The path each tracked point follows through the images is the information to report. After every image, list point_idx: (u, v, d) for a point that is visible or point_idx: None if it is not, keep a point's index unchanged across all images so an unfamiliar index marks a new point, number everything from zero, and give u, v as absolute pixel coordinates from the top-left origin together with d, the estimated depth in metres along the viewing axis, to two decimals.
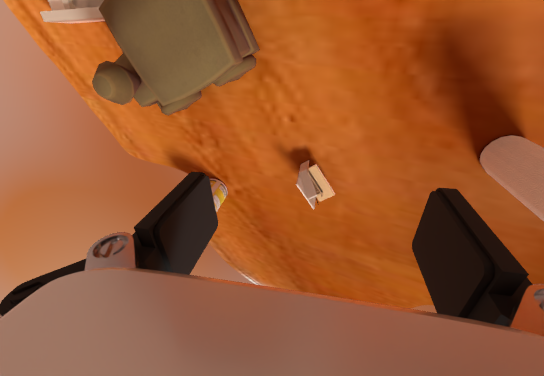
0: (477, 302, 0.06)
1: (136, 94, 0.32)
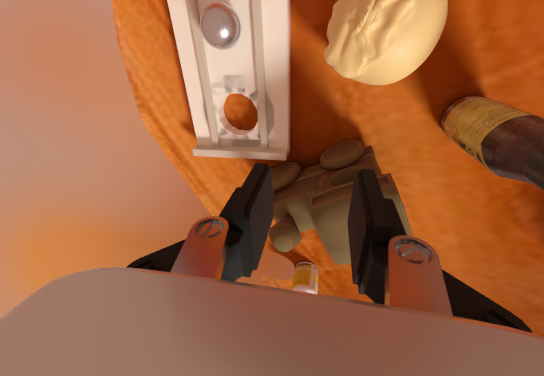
0: (366, 254, 0.08)
1: None
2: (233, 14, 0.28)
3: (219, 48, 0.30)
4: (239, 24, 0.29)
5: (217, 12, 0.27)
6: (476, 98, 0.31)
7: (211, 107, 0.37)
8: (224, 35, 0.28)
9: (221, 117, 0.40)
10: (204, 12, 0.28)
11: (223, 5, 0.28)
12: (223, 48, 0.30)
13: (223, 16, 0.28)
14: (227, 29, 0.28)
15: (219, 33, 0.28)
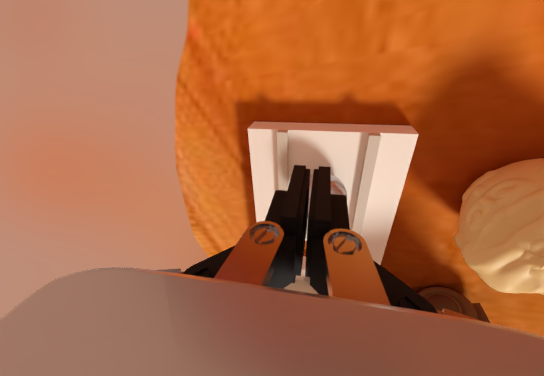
0: (310, 247, 0.08)
1: None
2: (344, 194, 0.22)
3: None
4: None
5: None
6: None
7: None
8: None
9: None
10: (309, 193, 0.22)
11: (333, 186, 0.22)
12: None
13: None
14: None
15: None
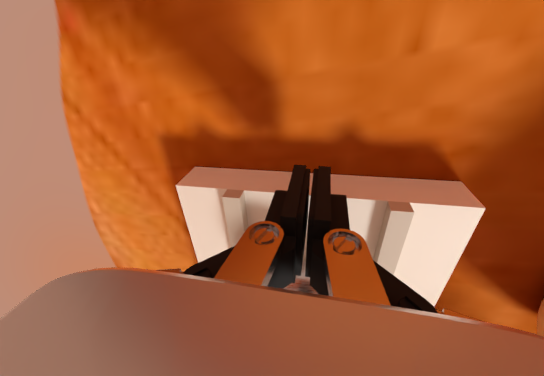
0: (310, 247, 0.08)
1: None
2: None
3: None
4: None
5: None
6: None
7: None
8: None
9: None
10: None
11: None
12: None
13: None
14: None
15: None
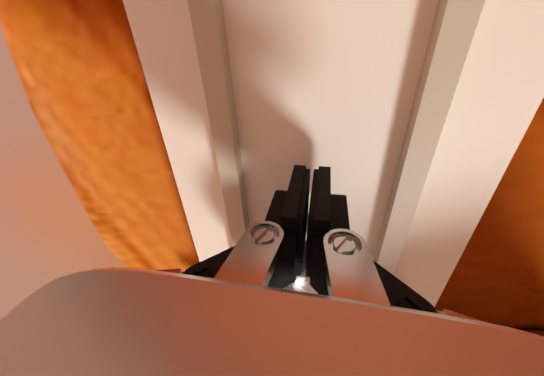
0: (310, 247, 0.08)
1: None
2: None
3: None
4: None
5: None
6: None
7: None
8: None
9: None
10: None
11: None
12: (306, 235, 0.12)
13: None
14: None
15: None
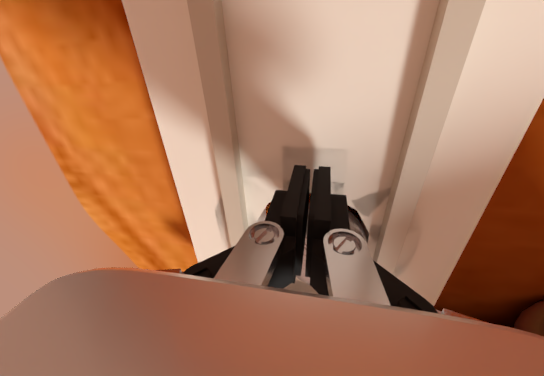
0: (310, 247, 0.08)
1: None
2: None
3: None
4: None
5: None
6: None
7: (241, 223, 0.14)
8: (353, 222, 0.13)
9: None
10: None
11: None
12: None
13: None
14: None
15: None
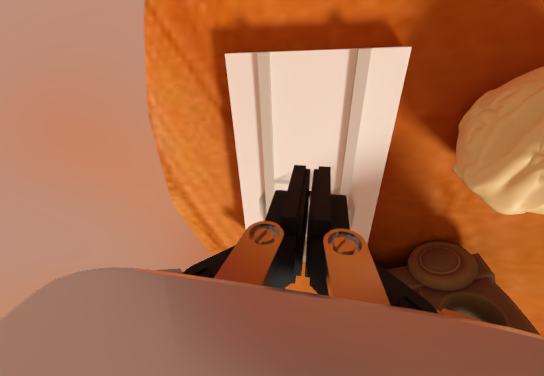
0: (310, 247, 0.08)
1: None
2: None
3: None
4: None
5: None
6: None
7: None
8: None
9: None
10: None
11: None
12: None
13: None
14: None
15: None
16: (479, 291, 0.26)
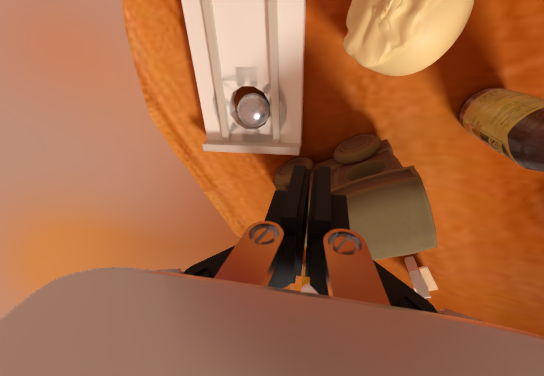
0: (310, 247, 0.08)
1: None
2: None
3: (264, 110, 0.35)
4: None
5: (248, 93, 0.36)
6: (498, 90, 0.30)
7: (222, 100, 0.36)
8: (261, 97, 0.35)
9: (232, 111, 0.39)
10: (240, 101, 0.36)
11: None
12: (266, 109, 0.36)
13: None
14: None
15: (258, 96, 0.35)
16: (377, 158, 0.33)
